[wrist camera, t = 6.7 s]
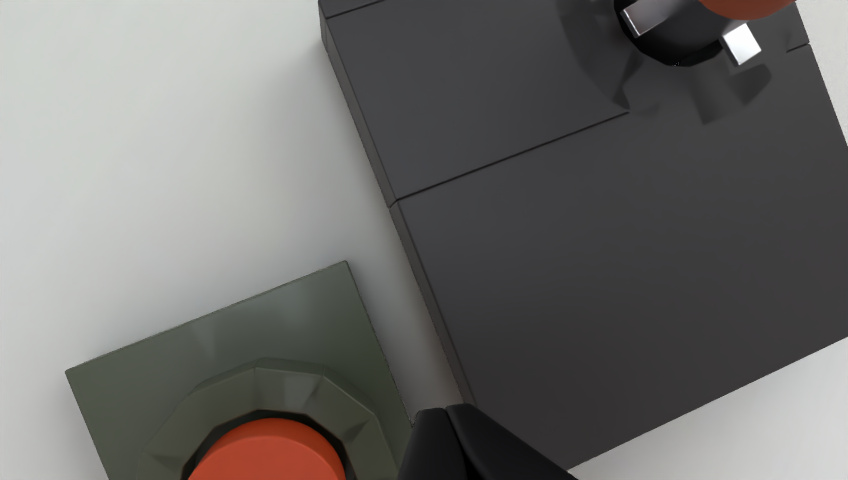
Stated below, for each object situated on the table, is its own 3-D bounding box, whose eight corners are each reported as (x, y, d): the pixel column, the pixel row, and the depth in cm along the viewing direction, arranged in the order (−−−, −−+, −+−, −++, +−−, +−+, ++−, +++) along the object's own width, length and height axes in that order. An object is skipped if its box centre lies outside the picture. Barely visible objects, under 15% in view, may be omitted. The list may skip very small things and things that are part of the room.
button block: (461, 551, 20) (481, 603, 17) (211, 672, 18) (186, 751, 15) (346, 259, 19) (346, 260, 16) (84, 362, 18) (33, 383, 15)
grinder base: (837, 299, 22) (913, 306, 19) (487, 461, 20) (512, 497, 17) (687, -103, 22) (742, -160, 19) (313, 19, 19) (308, -24, 17)
